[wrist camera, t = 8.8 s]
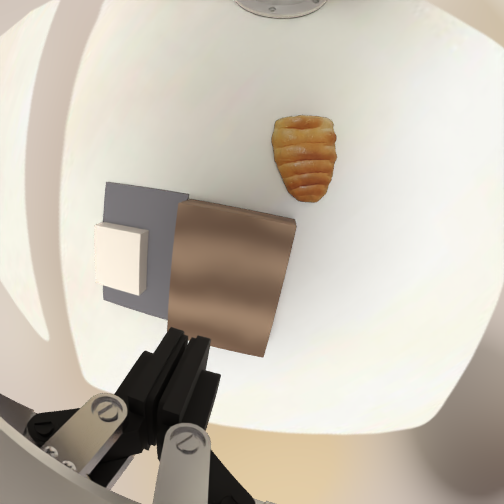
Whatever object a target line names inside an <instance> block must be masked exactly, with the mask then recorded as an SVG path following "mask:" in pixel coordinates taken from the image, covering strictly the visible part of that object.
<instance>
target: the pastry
mask: <svg viewBox="0 0 504 504" xmlns="http://www.w3.org/2000/svg"><path fill="white" fill-rule="evenodd" d="M333 126H334V124H333V122H332V121H331V120H330V119H328V118H326V117H319V116H305V115H299V116H295V117H292V116H291V117H285V118H281V119H279V120H277V121H276V123H275V128H274V132H273V135H272V145H273V149H274V150H273V151H274V159H275V162H276V164H277V167H278V169H279V171H280V173H281V176H282V178H283V182H284V184H285V186H286V188H287V190H288V192H289V193H290V194H291V195H292V196H293V197H295V198H296V199H297V200H298V201H302V202H317V201H319V200H320V199H321V198H322V197H323V196H324V195H325V194H326V192H327V189H328V185H329V183H330V182H331V178H332V176H333V169H334V163H335V161H336V159H337V154H336V152H335V141H336V134H335V132H334V129H333Z"/></svg>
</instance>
